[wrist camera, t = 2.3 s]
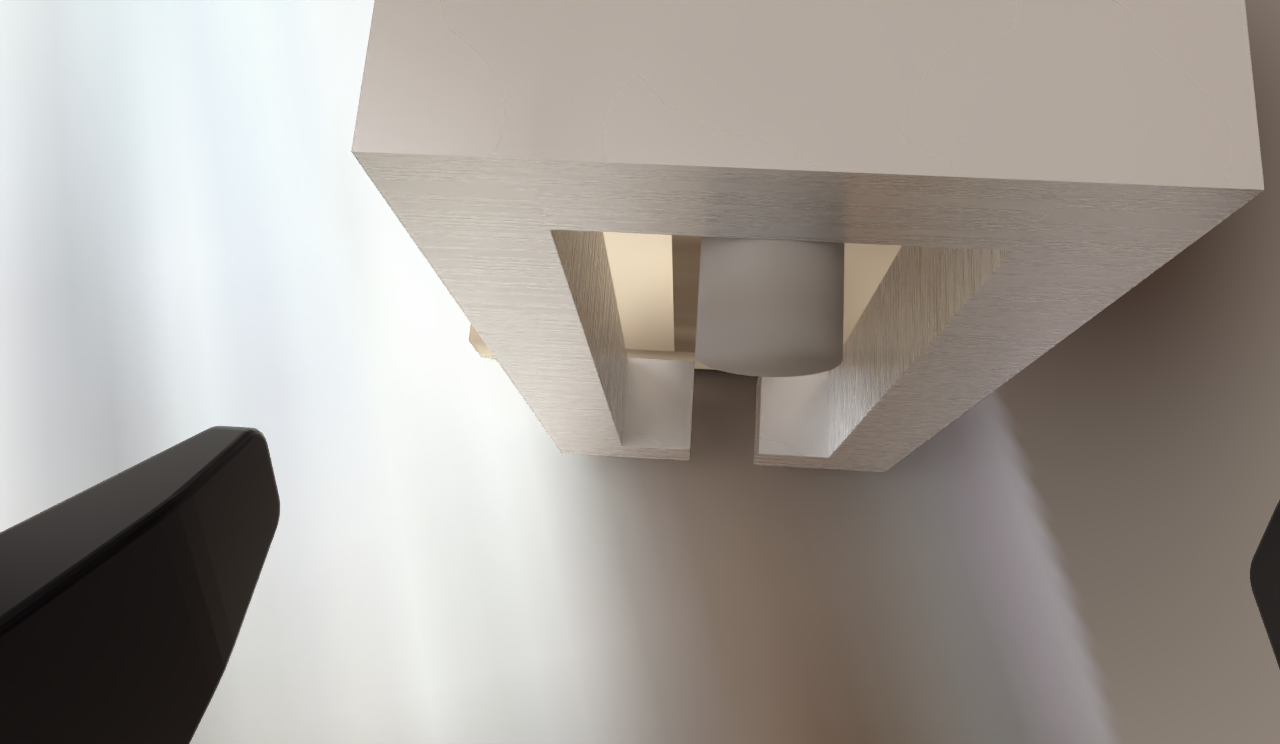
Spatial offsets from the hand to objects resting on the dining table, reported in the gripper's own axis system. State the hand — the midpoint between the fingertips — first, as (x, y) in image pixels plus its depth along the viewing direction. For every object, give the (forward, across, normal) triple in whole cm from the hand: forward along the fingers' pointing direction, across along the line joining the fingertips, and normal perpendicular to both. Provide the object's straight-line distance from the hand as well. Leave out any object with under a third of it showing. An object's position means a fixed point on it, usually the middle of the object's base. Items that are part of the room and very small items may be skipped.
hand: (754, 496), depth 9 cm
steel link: (+8, 0, +5) cm, 10 cm away
